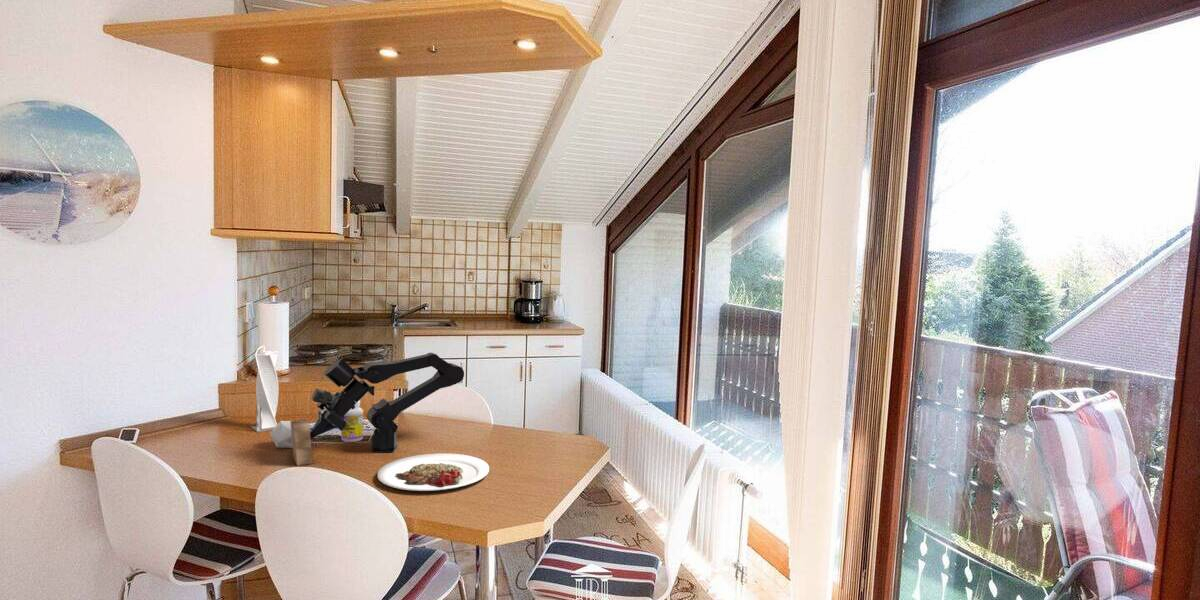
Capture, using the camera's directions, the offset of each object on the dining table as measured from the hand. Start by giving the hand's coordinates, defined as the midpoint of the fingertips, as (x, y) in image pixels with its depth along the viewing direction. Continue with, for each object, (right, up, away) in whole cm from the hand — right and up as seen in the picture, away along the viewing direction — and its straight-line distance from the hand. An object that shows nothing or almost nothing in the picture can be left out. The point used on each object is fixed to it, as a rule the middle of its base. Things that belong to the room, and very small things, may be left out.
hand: (309, 437), depth 190 cm
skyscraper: (-30, -4, +34) cm, 45 cm away
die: (-13, -6, +13) cm, 19 cm away
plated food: (+39, -9, -10) cm, 42 cm away
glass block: (-2, -7, 0) cm, 7 cm away
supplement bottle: (+4, -6, +22) cm, 23 cm away
